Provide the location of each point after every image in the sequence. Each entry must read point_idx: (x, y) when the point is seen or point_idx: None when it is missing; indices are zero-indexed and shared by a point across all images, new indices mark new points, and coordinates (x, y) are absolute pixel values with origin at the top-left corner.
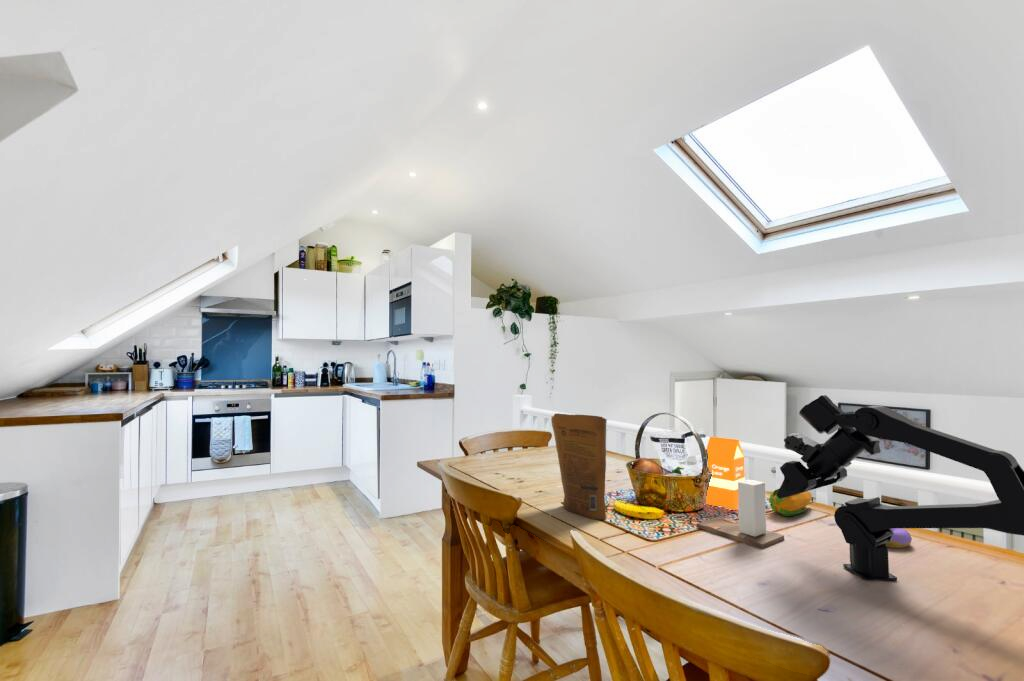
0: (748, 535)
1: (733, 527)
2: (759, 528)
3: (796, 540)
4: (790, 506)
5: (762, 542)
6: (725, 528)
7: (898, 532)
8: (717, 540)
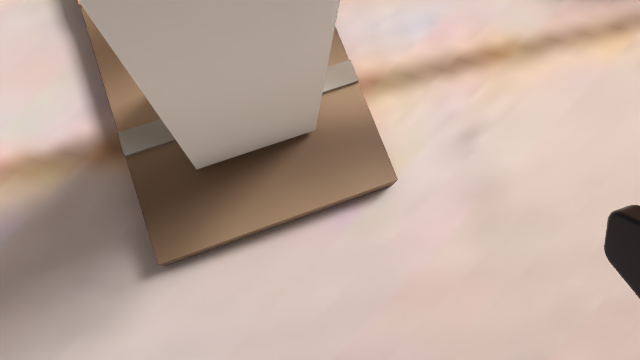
0: None
1: None
2: (241, 142)
3: (450, 210)
4: None
5: (182, 241)
6: None
7: None
8: (18, 99)
